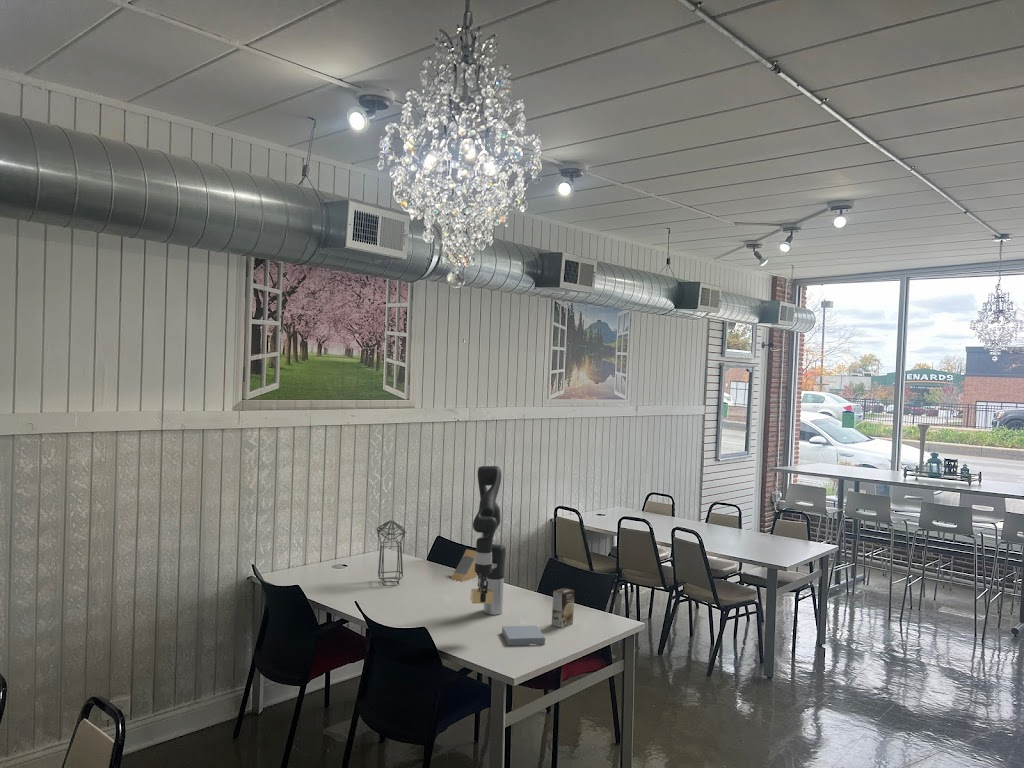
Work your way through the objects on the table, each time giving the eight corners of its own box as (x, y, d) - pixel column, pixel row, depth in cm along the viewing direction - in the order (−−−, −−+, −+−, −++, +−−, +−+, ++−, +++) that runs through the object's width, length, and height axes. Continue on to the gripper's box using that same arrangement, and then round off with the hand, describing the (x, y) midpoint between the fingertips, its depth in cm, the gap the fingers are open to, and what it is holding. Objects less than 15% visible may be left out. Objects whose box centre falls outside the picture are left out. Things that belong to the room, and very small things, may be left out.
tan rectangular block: (470, 600, 328) (471, 588, 328) (490, 599, 330) (491, 588, 330) (472, 603, 323) (472, 592, 323) (492, 603, 325) (493, 591, 325)
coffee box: (562, 628, 345) (563, 593, 345) (551, 624, 349) (552, 590, 349) (573, 623, 352) (574, 590, 352) (562, 620, 356) (564, 587, 356)
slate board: (502, 632, 334) (502, 626, 334) (536, 632, 338) (536, 625, 338) (508, 645, 319) (509, 638, 319) (544, 644, 322) (545, 637, 322)
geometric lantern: (405, 587, 401) (407, 522, 401) (376, 588, 397) (377, 523, 397) (402, 578, 417) (404, 517, 416) (374, 580, 413) (375, 517, 412)
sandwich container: (449, 579, 420) (450, 553, 420) (465, 574, 433) (466, 549, 433) (461, 582, 416) (462, 555, 416) (477, 577, 429) (478, 551, 429)
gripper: (472, 557, 333) (471, 595, 333) (477, 566, 319) (475, 605, 319) (489, 557, 334) (487, 595, 334) (494, 565, 320) (493, 605, 320)
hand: (481, 599), depth 326 cm, fingers closed on tan rectangular block, 5 cm apart
